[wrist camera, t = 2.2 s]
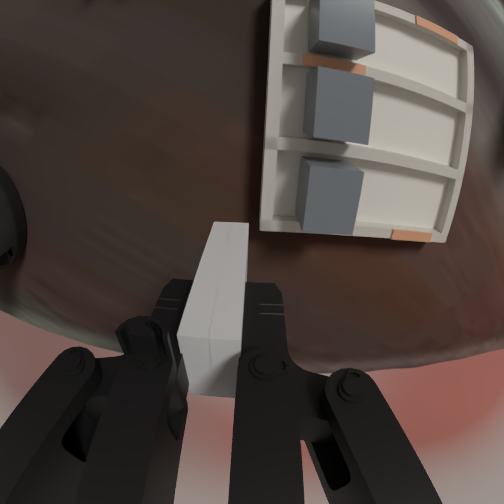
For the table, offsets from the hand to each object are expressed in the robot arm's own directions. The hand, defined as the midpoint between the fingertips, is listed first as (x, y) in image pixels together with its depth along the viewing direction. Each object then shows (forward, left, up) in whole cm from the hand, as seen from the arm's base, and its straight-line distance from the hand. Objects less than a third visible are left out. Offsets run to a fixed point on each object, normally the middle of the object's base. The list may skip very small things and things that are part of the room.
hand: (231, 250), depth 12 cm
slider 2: (+7, +7, -11) cm, 15 cm away
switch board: (+12, +7, -13) cm, 19 cm away
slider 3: (+7, 0, -11) cm, 13 cm away
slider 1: (+7, +14, -11) cm, 19 cm away
